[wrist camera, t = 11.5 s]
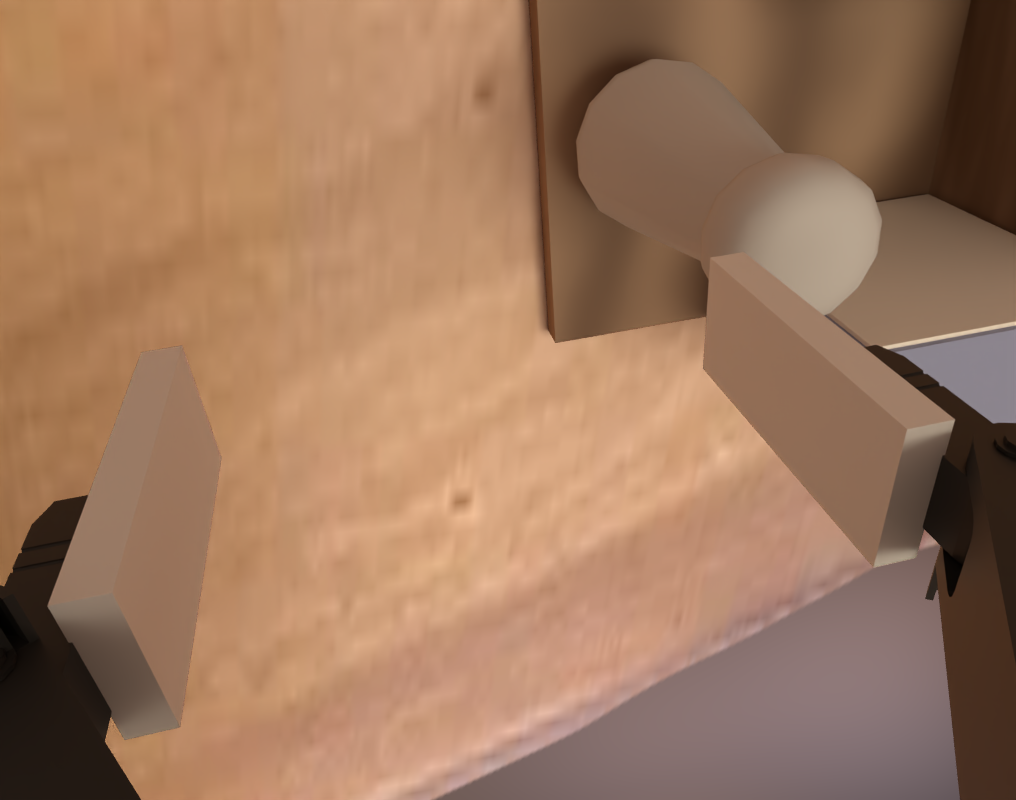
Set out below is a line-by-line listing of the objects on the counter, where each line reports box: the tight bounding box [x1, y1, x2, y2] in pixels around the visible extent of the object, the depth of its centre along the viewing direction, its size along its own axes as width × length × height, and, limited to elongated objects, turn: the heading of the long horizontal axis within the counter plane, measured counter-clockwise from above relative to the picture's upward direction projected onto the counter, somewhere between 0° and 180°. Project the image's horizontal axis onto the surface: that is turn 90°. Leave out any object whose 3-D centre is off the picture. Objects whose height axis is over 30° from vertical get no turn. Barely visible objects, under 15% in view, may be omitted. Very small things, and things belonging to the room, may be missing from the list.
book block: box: [825, 194, 1016, 424], centre depth 30 cm, size 10×4×11 cm, turn 95°
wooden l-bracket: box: [529, 0, 1016, 343], centre depth 27 cm, size 18×16×10 cm
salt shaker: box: [576, 59, 882, 316], centre depth 24 cm, size 6×6×13 cm
